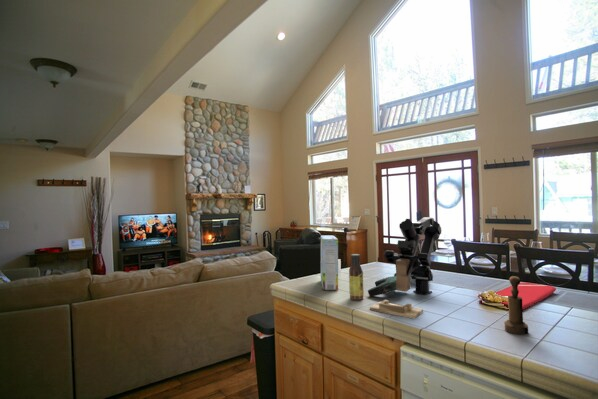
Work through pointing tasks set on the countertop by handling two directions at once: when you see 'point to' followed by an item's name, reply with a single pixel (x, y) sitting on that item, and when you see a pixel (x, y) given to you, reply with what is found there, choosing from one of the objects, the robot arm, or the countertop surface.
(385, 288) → the teal curved piece
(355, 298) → the sauce bottle
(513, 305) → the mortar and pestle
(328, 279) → the snack box
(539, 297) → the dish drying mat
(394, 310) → the oak base board
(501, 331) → the countertop surface
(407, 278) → the walnut board piece
